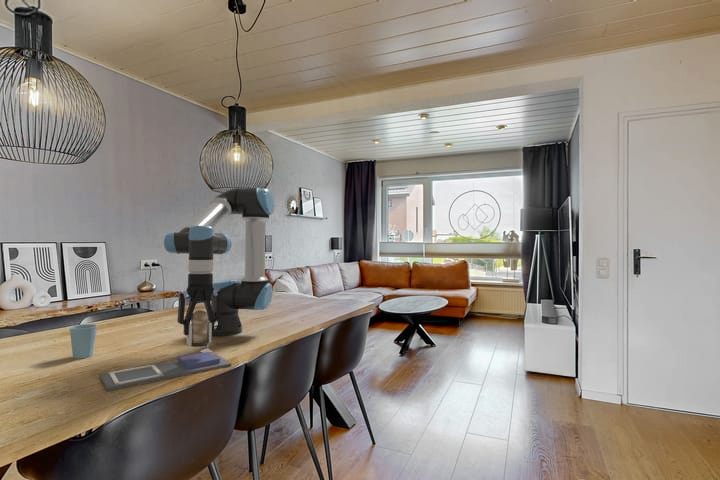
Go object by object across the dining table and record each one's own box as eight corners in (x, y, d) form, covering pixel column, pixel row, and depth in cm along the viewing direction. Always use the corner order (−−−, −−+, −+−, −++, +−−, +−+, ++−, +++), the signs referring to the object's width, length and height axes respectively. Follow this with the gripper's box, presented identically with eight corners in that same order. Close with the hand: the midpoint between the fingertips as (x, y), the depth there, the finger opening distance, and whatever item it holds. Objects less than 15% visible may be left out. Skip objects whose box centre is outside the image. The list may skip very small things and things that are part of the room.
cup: (83, 352, 135) (84, 323, 135) (101, 354, 134) (102, 324, 134) (63, 358, 128) (64, 328, 128) (82, 360, 127) (83, 329, 127)
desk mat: (215, 355, 134) (215, 348, 134) (231, 365, 124) (231, 358, 124) (100, 376, 112) (100, 368, 112) (107, 390, 101) (107, 381, 101)
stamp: (204, 341, 127) (205, 308, 128) (210, 344, 123) (211, 310, 123) (187, 344, 124) (188, 309, 124) (192, 347, 120) (193, 312, 120)
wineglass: (194, 350, 140) (195, 318, 140) (212, 347, 145) (212, 315, 145) (202, 354, 135) (203, 321, 135) (220, 350, 140) (221, 318, 140)
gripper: (224, 271, 133) (222, 337, 132) (166, 272, 121) (164, 345, 120) (232, 272, 127) (231, 341, 127) (173, 274, 115) (171, 350, 115)
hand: (199, 343), depth 123 cm, fingers closed on stamp, 5 cm apart
